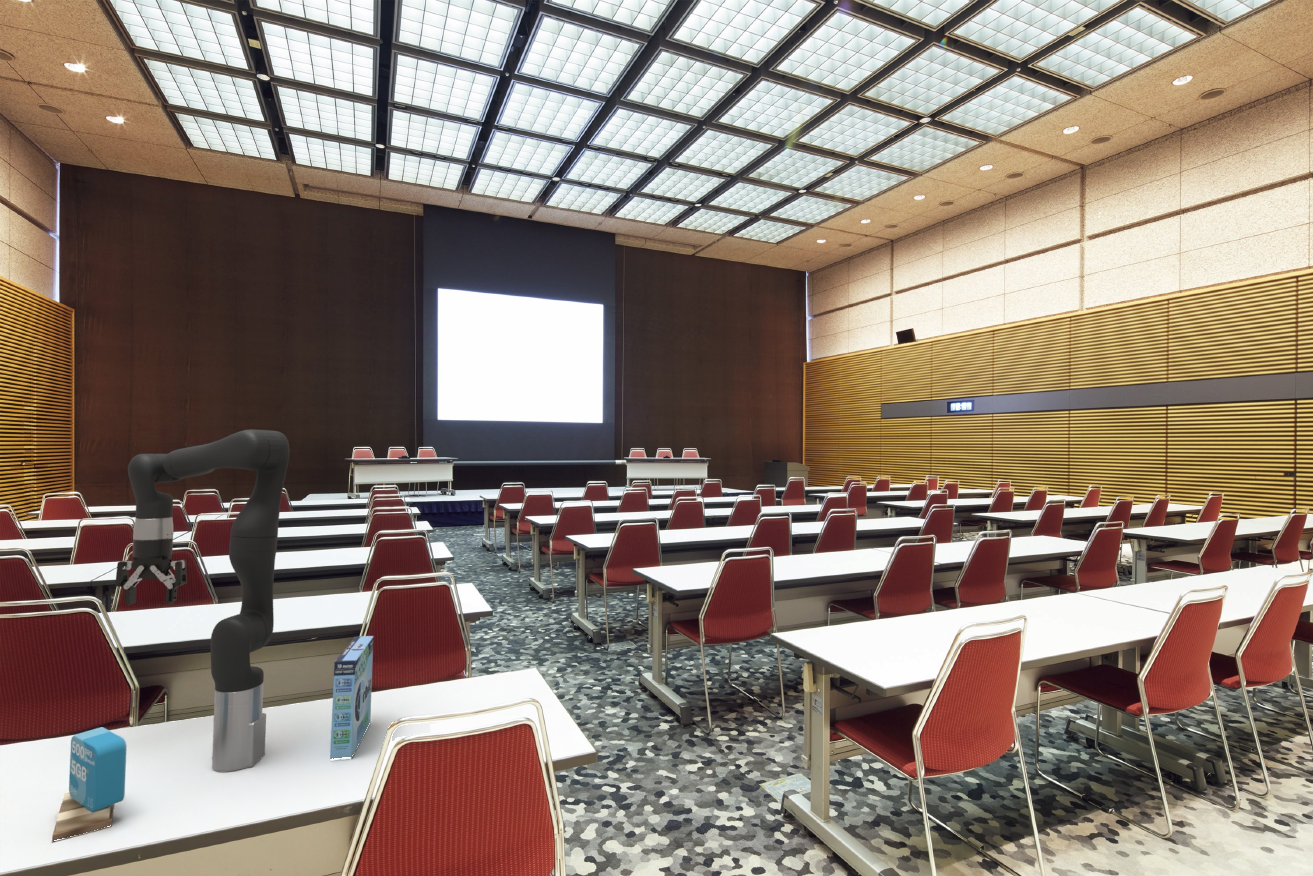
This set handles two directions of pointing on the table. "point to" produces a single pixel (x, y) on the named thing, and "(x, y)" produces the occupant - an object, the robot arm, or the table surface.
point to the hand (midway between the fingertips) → (150, 604)
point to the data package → (97, 768)
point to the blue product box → (351, 696)
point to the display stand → (79, 818)
